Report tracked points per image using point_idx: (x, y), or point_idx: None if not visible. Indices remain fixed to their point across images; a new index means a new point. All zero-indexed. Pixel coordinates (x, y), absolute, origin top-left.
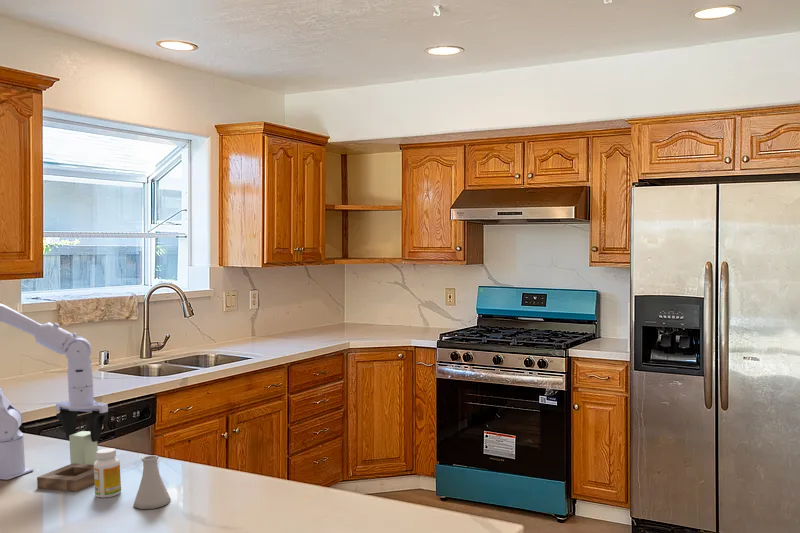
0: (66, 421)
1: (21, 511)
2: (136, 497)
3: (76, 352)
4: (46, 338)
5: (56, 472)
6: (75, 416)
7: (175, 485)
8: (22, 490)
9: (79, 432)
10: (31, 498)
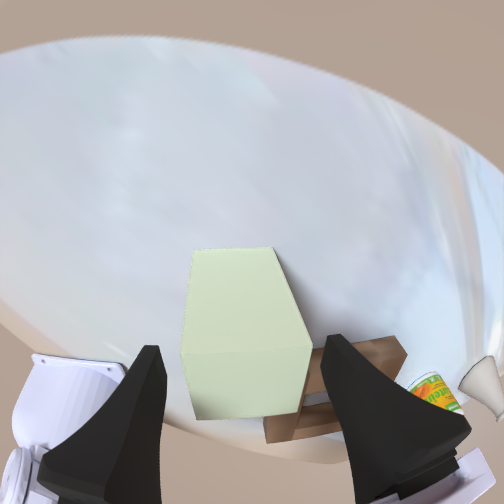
0: (156, 475)
1: (320, 454)
2: (467, 394)
3: None
4: None
5: (289, 423)
6: (126, 458)
7: (501, 314)
8: (242, 434)
9: (198, 381)
10: (297, 440)
